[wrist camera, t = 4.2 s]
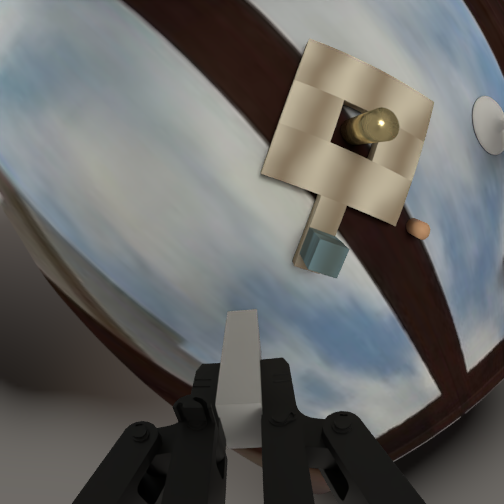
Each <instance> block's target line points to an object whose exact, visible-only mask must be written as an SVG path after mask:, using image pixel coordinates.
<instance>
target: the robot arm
mask: <svg viewBox="0 0 504 504" xmlns="http://www.w3.org/2000/svg"><path fill="white" fill-rule="evenodd" d="M173 409H174V412H175V414H176V417H177V419H178V423H176V424H173V425H171V426H166V427H161V428H156V427H155V426H154V425H153V424H151V423H149V422H144V421H141V422H136V423H133V424H131V425H130V426H129V427H128V428H126V429H125V431H124V432H123V434H122V435H121V436H120V438H119V439H118V440H117V442H116V443H115V445H114V446H113V447H112V449H111V450H110V452H109V453H108V454H107V456H106V457H105V459H104V460H103V461H102V463H101V464H100V465H99V467H98V468H97V470H96V471H95V472H94V474H93V475H92V476H91V478H90V479H89V481H88V482H87V483H86V485H85V486H84V488H83V489H82V490H81V492H80V493H79V494H78V496H77V497H76V499H75V500H74V501H73V503H72V504H225V494H226V476H227V456H226V452H225V450H226V445H227V448H253V447H262V464H263V491H264V504H314V497H313V491H312V485H311V479H310V472H309V468H318V469H319V470H320V472H321V474H322V476H323V477H324V479H325V481H326V483H327V485H328V486H329V488H330V490H331V492H332V494H333V495H334V497H335V499H336V501H337V502H338V504H426V503H425V502H424V500H423V499H422V498H421V497H420V495H419V494H418V493H417V492H416V490H415V489H414V488H413V487H412V485H411V484H410V483H409V481H408V480H407V479H406V478H405V476H404V475H403V474H402V473H401V471H400V470H399V469H398V467H397V466H396V465H395V464H394V462H393V461H392V460H391V458H390V457H389V456H388V454H387V453H386V452H385V451H384V449H383V448H382V447H381V445H380V444H379V443H378V442H377V440H376V439H375V438H374V436H373V435H372V434H371V432H370V431H369V430H368V429H367V427H366V426H365V425H364V423H363V422H362V421H361V419H360V418H359V417H358V416H356V415H355V414H353V413H351V412H346V411H340V412H335V413H332V414H331V415H329V416H327V418H326V419H317V418H311V417H308V416H305V415H304V414H302V413H301V412H300V411H299V410H298V408H297V406H296V401H295V395H294V390H293V384H292V378H291V373H290V367H289V364H288V363H287V362H286V361H285V359H284V358H274V359H263V360H262V359H261V346H260V336H259V326H258V316H257V309H252V310H241V311H228V312H227V319H226V326H225V334H224V341H223V349H222V356H221V363H212V364H202V365H201V366H200V367H199V369H198V370H197V371H196V374H195V378H194V383H193V388H192V392H191V395H187V396H184V397H182V398H180V399H179V400H177V401H176V402H175V404H174V406H173Z"/></svg>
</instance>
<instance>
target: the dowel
mask: <svg viewBox="0 0 504 504" xmlns="http://www.w3.org/2000/svg"><path fill="white" fill-rule="evenodd" d="M406 230H407V232H408V233H410V234H411V235H413V236H415V237H417V238H419V239H421V240H424V239H426V238H427V237H428V236H429V234H430V227H429V225H428V224H427V223H425V222H422V221H420V220H418V219H415V218H411V219H410V220H409V221H408V222H407V224H406Z"/></svg>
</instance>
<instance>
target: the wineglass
mask: <svg viewBox="0 0 504 504" xmlns="http://www.w3.org/2000/svg"><path fill="white" fill-rule="evenodd" d="M473 125H474V130H475V133H476V136H477V138H478V140H479V142H480V144H481V145H482V147H483V148H484V149H485V150H486V151H487V152H488V153H490V154H493V155H498V154H500V153H502V152H503V151H504V113H503V111H502V109H501V107H500V106H499V105H498V103H497V102H496V101H494V100H493V99H492V98H490V97H488V96H482V97H480V98H478V99H477V101H476V102H475V104H474V107H473Z"/></svg>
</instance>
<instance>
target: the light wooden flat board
mask: <svg viewBox="0 0 504 504" xmlns="http://www.w3.org/2000/svg"><path fill="white" fill-rule="evenodd" d="M343 104H344V105H346V106H348V107H351V108H353V109H355V110H357V111H359V112H361V113H365V112H368V111H371V110H373V109H376V108H380V107H383V108H387V109H389V110H391V111H392V112H393V113H394V114H395V115H396V117H397V119H398V121H399V132H398V135H397V136H396V138H395V139H393V140H391V141H386V142H377V143H372V146H371V149H370V152H369V155H368V158H364V157H362V156H360V155H358V154H356V153H354V152H351V151H349V150H347V149H345V148H342V147H340V146H338V145H335V144H333V143H330V141H331V138H332V135H333V132H334V129H335V127H336V124H337V121H338V118H339V115H340V112H341V109H342V105H343ZM433 105H434V102H433V101H431V100H430V99H428V98H427V97H425V96H424V95H422V94H421V93H419V92H418V91H416V90H414V89H413V88H411V87H409V86H408V85H406V84H404V83H403V82H401V81H399V80H397V79H396V78H394V77H392V76H390V75H389V74H387V73H385V72H383V71H381V70H379V69H377V68H375V67H373V66H371V65H369V64H367V63H365V62H363V61H361V60H359V59H357V58H355V57H353V56H351V55H348V54H346V53H344V52H342V51H339V50H337V49H335V48H332V47H330V46H327V45H325V44H322V43H320V42H317V41H315V40H312V39H309V41H308V42H307V45H306V47H305V50H304V53H303V55H302V58H301V61H300V64H299V66H298V69H297V72H296V75H295V77H294V80H293V83H292V86H291V88H290V91H289V94H288V97H287V99H286V102H285V105H284V108H283V111H282V113H281V116H280V119H279V122H278V125H277V127H276V130H275V133H274V136H273V139H272V142H271V144H270V147H269V150H268V153H267V156H266V159H265V162H264V165H263V167H262V170H261V174H263V175H266V176H269V177H272V178H275V179H278V180H281V181H284V182H286V183H289V184H292V185H295V186H297V187H300V188H303V189H306V190H308V191H311V192H314V193H316V194H318V195H317V198H316V200H315V203H314V206H313V208H312V211H311V214H310V216H309V219H308V222H307V224H306V227H305V230H304V232H303V235H302V237H301V240H300V243H299V245H298V248H297V250H296V253H295V255H294V258H293V261H292V262H293V264H294V266H296V267H299V268H302V269H305V270H309V271H312V272H315V273H318V274H320V273H321V274H324V275H327V276H330V277H333V278H337V277H338V274H339V272H340V270H341V268H342V265H343V263H344V261H345V258H346V256H347V254H348V251H349V249H348V248H347V247H346V246H345V245H344V244H343V243H342V242H341V241H340V240H339V239H338V238H337V237H335V235H336V233H337V230H338V227H339V225H340V222H341V220H342V217H343V215H344V212H345V209H346V207H347V206H349V207H352V208H354V209H357V210H359V211H362V212H364V213H366V214H369V215H371V216H373V217H376V218H378V219H380V220H383V221H385V222H387V223H389V224H392V225H394V226H396V223H397V221H398V218H399V216H400V213H401V210H402V208H403V205H404V202H405V199H406V197H407V194H408V191H409V188H410V185H411V182H412V179H413V176H414V173H415V170H416V167H417V164H418V161H419V157H420V154H421V151H422V147H423V144H424V140H425V137H426V133H427V129H428V125H429V121H430V118H431V113H432V109H433Z"/></svg>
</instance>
